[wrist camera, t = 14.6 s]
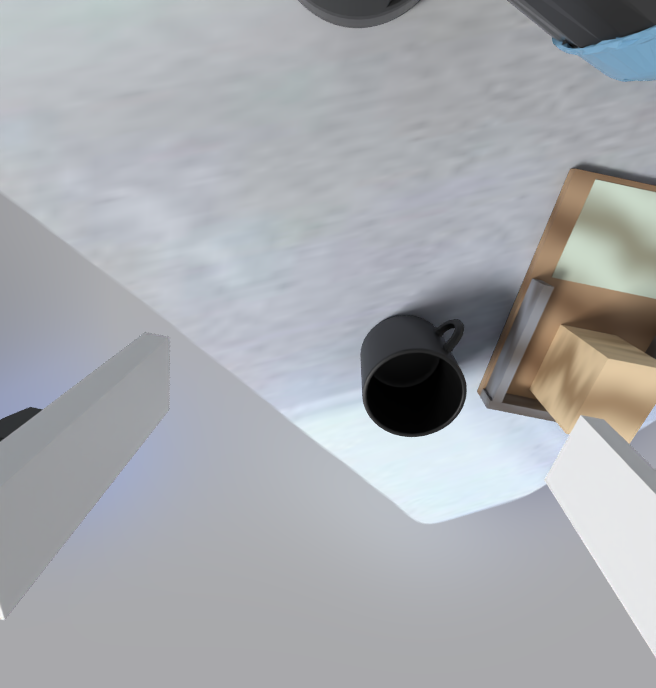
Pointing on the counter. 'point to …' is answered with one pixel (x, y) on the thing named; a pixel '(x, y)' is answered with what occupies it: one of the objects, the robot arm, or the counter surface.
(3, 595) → the robot arm
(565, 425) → the oak block
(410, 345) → the mug
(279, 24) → the counter surface
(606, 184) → the slot board
